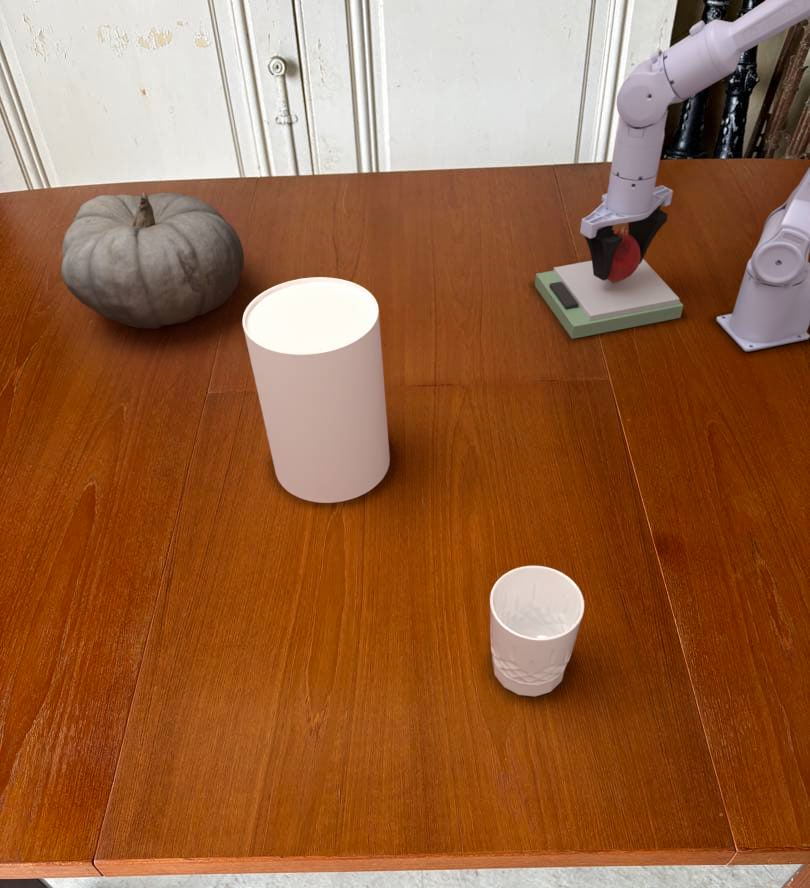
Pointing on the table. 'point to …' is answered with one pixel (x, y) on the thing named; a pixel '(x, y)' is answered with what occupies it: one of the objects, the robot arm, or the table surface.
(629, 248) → the onion
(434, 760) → the table surface
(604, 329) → the scale
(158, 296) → the gourd
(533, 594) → the white cup
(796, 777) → the table surface
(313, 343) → the canister
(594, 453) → the table surface
